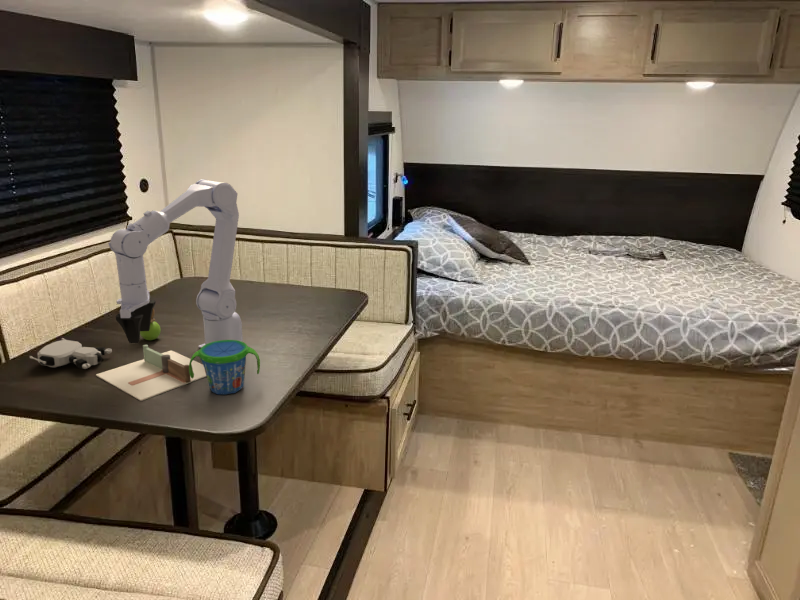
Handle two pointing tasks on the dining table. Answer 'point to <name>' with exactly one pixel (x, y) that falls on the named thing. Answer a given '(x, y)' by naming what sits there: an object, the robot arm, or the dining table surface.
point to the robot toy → (70, 354)
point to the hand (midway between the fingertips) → (139, 336)
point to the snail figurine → (151, 329)
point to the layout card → (149, 377)
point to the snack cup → (224, 365)
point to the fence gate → (152, 356)
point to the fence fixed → (175, 368)
